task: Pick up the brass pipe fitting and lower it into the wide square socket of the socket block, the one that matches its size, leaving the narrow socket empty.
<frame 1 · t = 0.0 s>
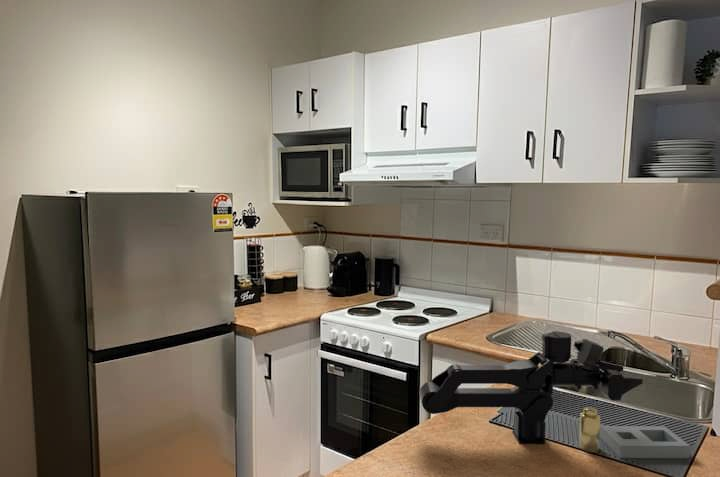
hand: (632, 374, 127), 16 cm above the counter, tool horizontal, fingers open, 9 cm apart
brass fitting: (588, 447, 123), on the counter
socket block: (643, 447, 123), on the counter
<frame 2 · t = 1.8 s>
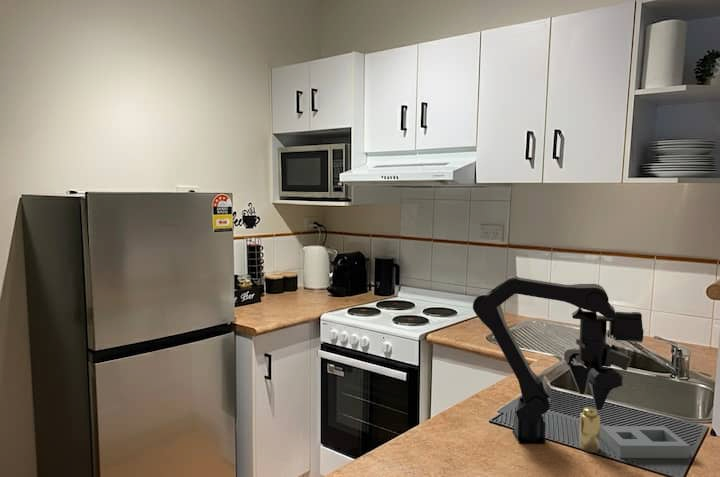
hand: (590, 401, 122), 11 cm above the counter, tool pointing down, fingers open, 9 cm apart
nothing on the counter moved.
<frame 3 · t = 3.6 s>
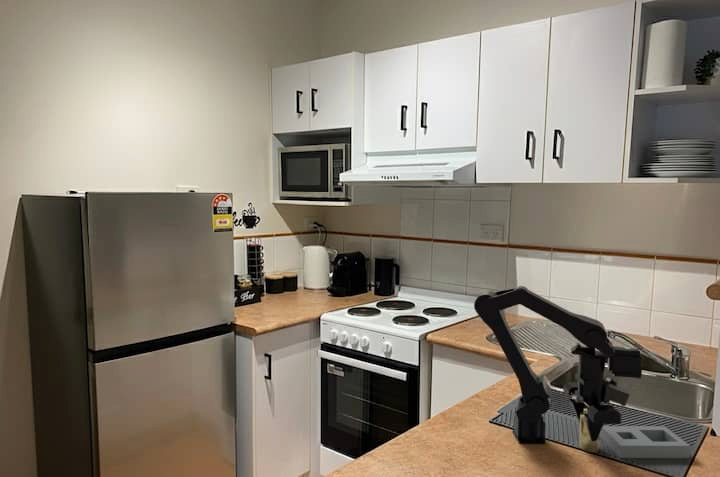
hand: (589, 436, 123), 3 cm above the counter, tool pointing down, fingers closed on brass fitting, 4 cm apart
brass fitting: (589, 447, 123), on the counter, touching gripper
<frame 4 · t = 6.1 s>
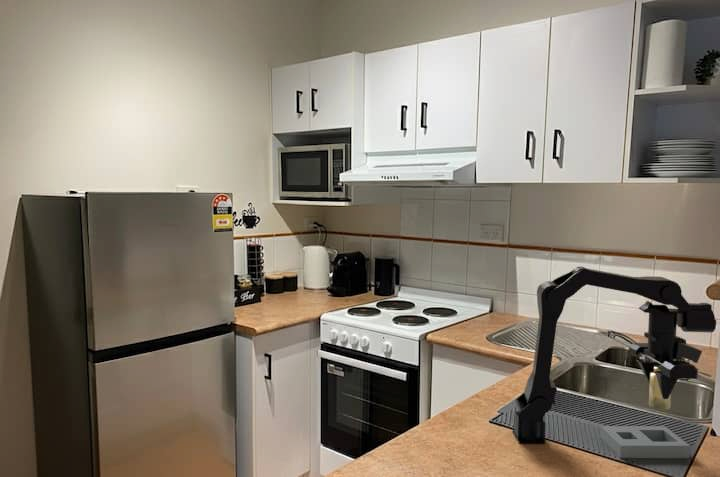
hand: (659, 394, 122), 13 cm above the counter, tool pointing down, fingers closed on brass fitting, 4 cm apart
brass fitting: (659, 406, 122), point 10 cm above the counter, touching gripper
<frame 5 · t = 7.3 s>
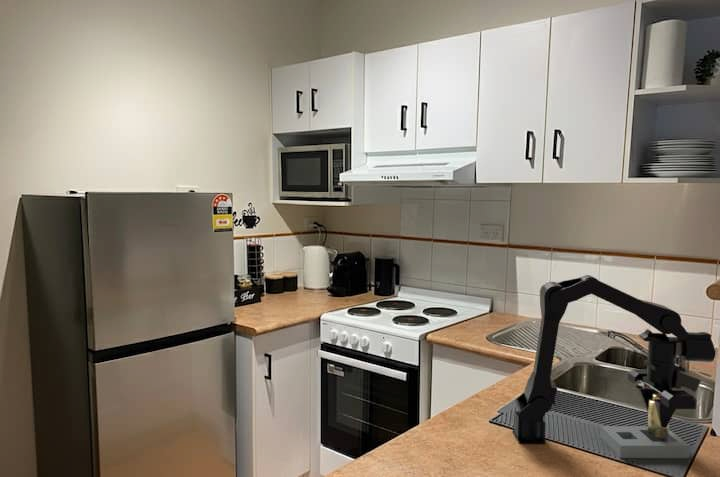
hand: (658, 422, 123), 6 cm above the counter, tool pointing down, fingers closed on brass fitting, 4 cm apart
brass fitting: (657, 433, 123), point 4 cm above the counter, touching gripper
when the fingers open (4 cm above the counter, at t = 8.5 s): brass fitting drops 1 cm, resting in socket block.
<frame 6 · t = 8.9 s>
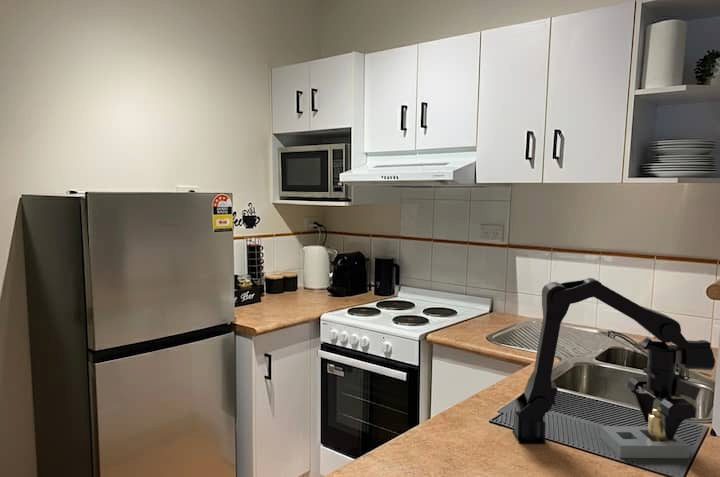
hand: (658, 430, 123), 4 cm above the counter, tool pointing down, fingers open, 9 cm apart
brass fitting: (657, 447, 123), resting in socket block
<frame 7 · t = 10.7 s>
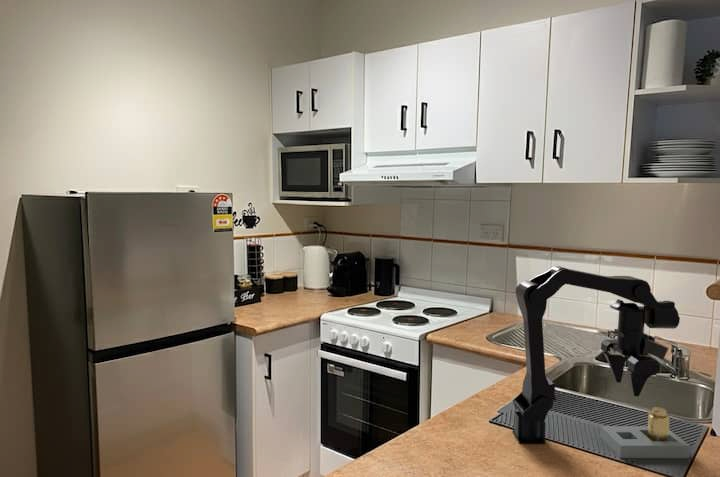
hand: (627, 388, 127), 12 cm above the counter, tool pointing down, fingers open, 9 cm apart
nothing on the counter moved.
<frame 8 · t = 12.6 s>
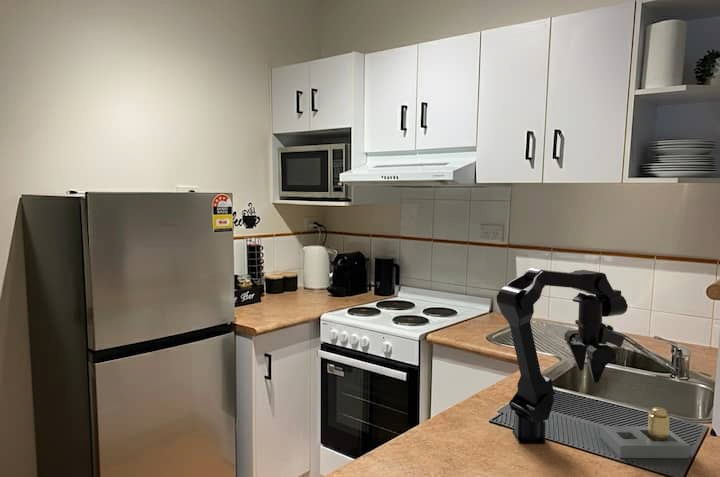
hand: (588, 376, 135), 13 cm above the counter, tool pointing down, fingers open, 9 cm apart
nothing on the counter moved.
at the end: brass fitting 0.0 cm from the target spot on the socket block, point 0.0 cm above the socket block's base; brass fitting tilted 0°; the gripper is holding nothing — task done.
